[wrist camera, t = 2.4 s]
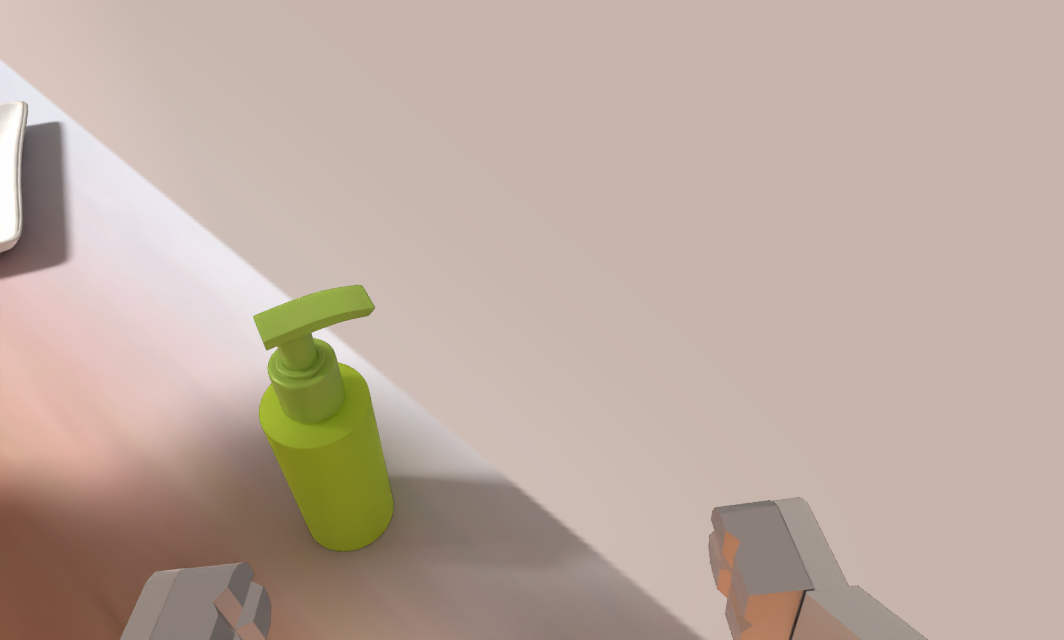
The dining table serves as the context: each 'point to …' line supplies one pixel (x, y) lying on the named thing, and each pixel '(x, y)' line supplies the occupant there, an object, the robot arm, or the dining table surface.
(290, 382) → the soap dispenser
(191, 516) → the dining table surface
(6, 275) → the dining table surface
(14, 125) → the square plate
